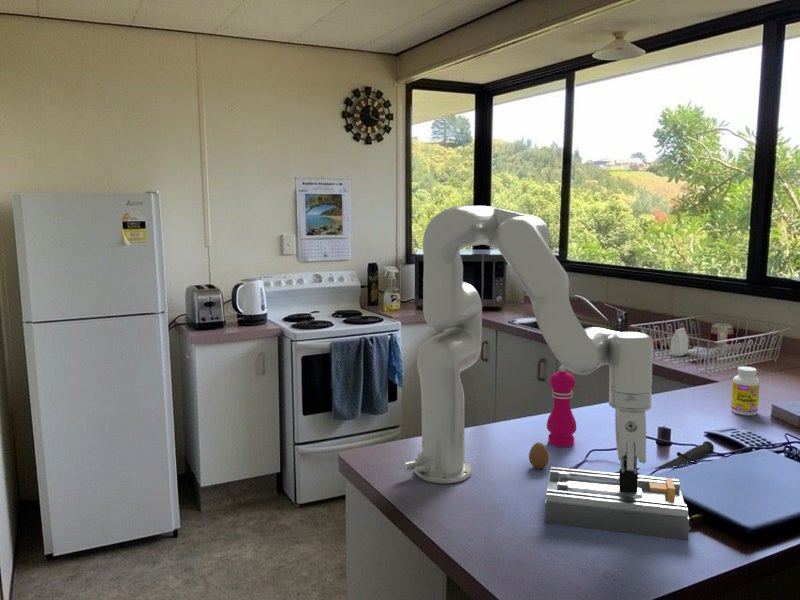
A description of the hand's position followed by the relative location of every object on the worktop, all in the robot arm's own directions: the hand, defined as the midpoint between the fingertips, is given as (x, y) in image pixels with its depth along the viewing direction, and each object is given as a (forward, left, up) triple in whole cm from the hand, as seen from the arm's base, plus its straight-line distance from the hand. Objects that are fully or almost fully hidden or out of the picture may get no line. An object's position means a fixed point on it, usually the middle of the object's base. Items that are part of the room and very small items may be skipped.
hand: (628, 490), depth 123 cm
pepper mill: (+15, +35, -5) cm, 38 cm away
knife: (+30, +12, -6) cm, 33 cm away
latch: (+4, -4, -1) cm, 6 cm away
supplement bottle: (+75, +26, -5) cm, 80 cm away
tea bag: (+119, +82, -5) cm, 145 cm away
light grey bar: (-3, +4, -1) cm, 5 cm away
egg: (0, +26, -5) cm, 26 cm away
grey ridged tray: (-2, +2, -5) cm, 6 cm away
